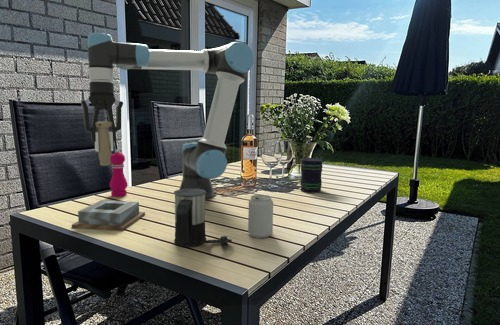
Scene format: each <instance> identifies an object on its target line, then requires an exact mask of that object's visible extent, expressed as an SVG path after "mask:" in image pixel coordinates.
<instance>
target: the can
mask: <svg viewBox="0 0 500 325" xmlns="http://www.w3.org/2000/svg"><path fill="white" fill-rule="evenodd" d="M247 217H248V220H247V223H248V224H247V226H248V228H247V230H248V231H247V233H248V235H250V236H251V237H253V238H258V239H265V238H268V237H270V236H271V235H272V234H274V233H273V232H274V231H273V230H274V228H273V227H274V225H273V224H274V223H273V222H274V201H273V200H272V197H271V196H270V195H267V194H254V195H252V196H250V200H249V201H248V216H247Z"/></svg>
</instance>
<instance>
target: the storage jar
mask: <svg viewBox="0 0 500 325" xmlns="http://www.w3.org/2000/svg"><path fill="white" fill-rule="evenodd" d="M300 171H301V173H300V174H301V176H300V182H299V185H300V190H301V191H300V192H303V193H306V194H319V193H321V192H322V184H323V180H322V172H323V159H322V158H317V157H303V158H301V163H300Z"/></svg>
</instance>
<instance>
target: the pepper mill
mask: <svg viewBox="0 0 500 325" xmlns="http://www.w3.org/2000/svg"><path fill="white" fill-rule="evenodd" d="M125 160H126V157H125V155H124V154H123V153H121V152H120V149H118V148H117V149H115V150H114V153H112V154H111V155H110V163H111V168H112V177H111V179H110V182H109V188H110V189H111V193H110V194H111V195H110V196H111V197H115V198H116V197H118V198H119V197H125V196H127V195H128V194H127V192H128V191H127V187H128V181H127V178H126V177H125V173H124V168H125V166H124V165H125V164H124V162H126V161H125Z"/></svg>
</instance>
